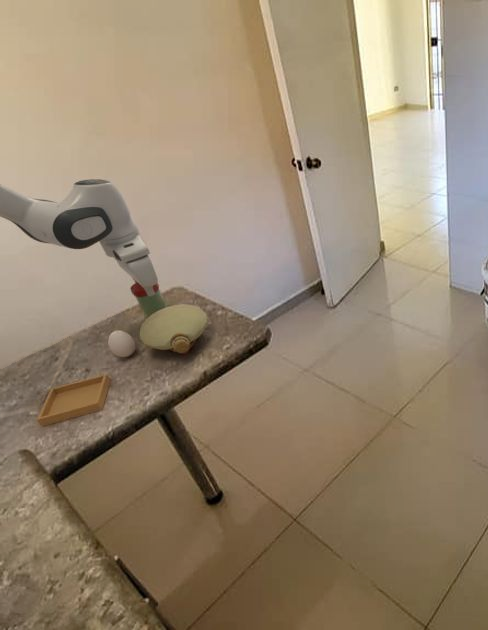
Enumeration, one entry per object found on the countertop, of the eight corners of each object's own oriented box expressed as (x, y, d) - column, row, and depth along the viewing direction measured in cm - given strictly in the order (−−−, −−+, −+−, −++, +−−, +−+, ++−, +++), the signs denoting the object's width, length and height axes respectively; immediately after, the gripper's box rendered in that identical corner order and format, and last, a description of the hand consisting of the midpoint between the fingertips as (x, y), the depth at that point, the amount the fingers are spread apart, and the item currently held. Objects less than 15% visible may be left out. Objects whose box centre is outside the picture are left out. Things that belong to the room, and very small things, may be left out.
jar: (147, 326, 119) (130, 294, 113) (149, 315, 124) (133, 284, 118) (170, 321, 121) (155, 288, 115) (172, 310, 126) (157, 278, 120)
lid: (131, 299, 114) (128, 293, 113) (135, 288, 119) (132, 282, 118) (157, 293, 116) (155, 287, 115) (160, 282, 121) (157, 276, 120)
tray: (42, 426, 91) (36, 419, 89) (56, 394, 99) (50, 388, 97) (102, 409, 94) (97, 402, 93) (111, 380, 102) (106, 373, 100)
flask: (207, 317, 121) (223, 351, 109) (144, 339, 114) (155, 378, 102) (195, 289, 115) (211, 322, 103) (129, 311, 109) (138, 349, 96)
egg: (140, 357, 108) (126, 333, 104) (116, 364, 106) (101, 341, 102) (139, 346, 112) (127, 323, 108) (116, 353, 110) (102, 330, 106)
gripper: (97, 237, 114) (121, 283, 122) (122, 259, 102) (147, 308, 109) (123, 229, 117) (145, 274, 125) (150, 249, 105) (172, 297, 113)
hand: (146, 290), depth 117 cm, fingers closed on lid, 6 cm apart
